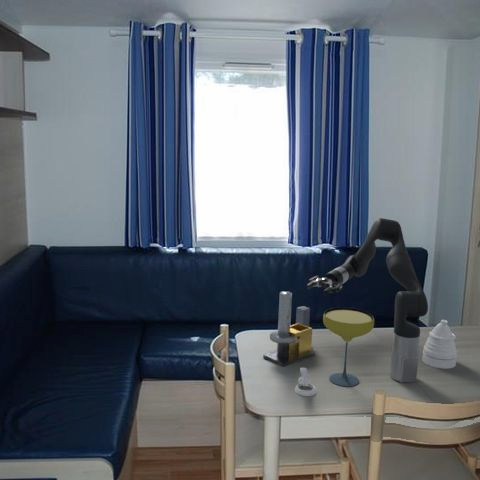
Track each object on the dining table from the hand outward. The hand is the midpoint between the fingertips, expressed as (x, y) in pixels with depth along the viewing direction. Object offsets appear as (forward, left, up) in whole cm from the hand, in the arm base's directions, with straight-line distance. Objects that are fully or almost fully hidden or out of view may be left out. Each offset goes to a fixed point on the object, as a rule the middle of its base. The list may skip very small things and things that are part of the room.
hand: (315, 290), depth 235 cm
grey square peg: (-3, +6, -23) cm, 24 cm away
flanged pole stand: (-15, +16, -23) cm, 31 cm away
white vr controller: (-45, +19, -23) cm, 54 cm away
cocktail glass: (-39, +2, -23) cm, 46 cm away
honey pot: (-29, -43, -23) cm, 57 cm away
